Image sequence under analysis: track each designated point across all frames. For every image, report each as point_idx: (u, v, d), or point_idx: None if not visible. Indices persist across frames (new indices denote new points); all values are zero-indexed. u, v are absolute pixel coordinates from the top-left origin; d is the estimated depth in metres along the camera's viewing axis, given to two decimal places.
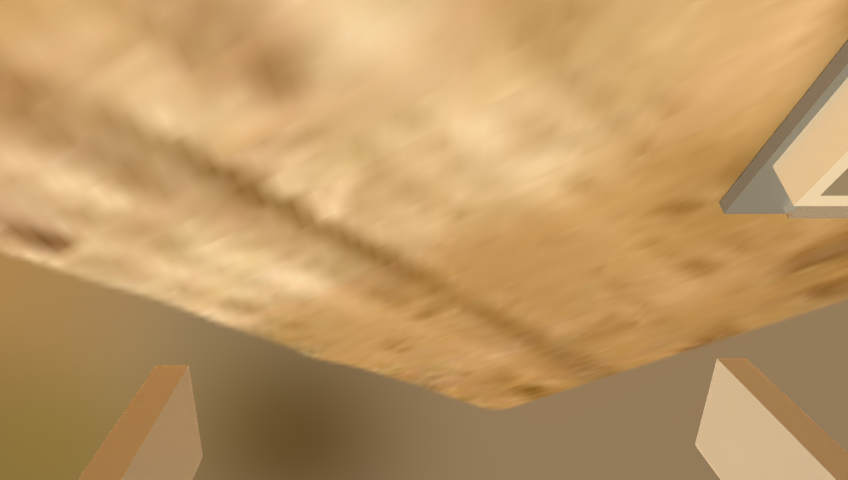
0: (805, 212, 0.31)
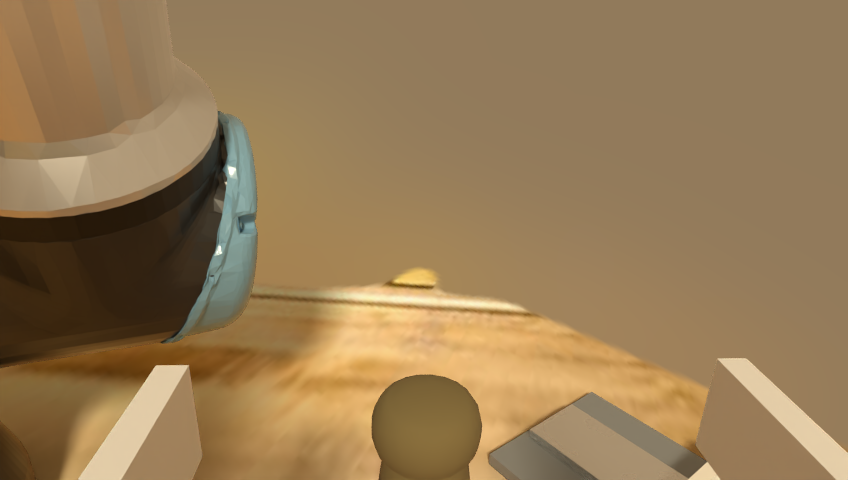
0: None
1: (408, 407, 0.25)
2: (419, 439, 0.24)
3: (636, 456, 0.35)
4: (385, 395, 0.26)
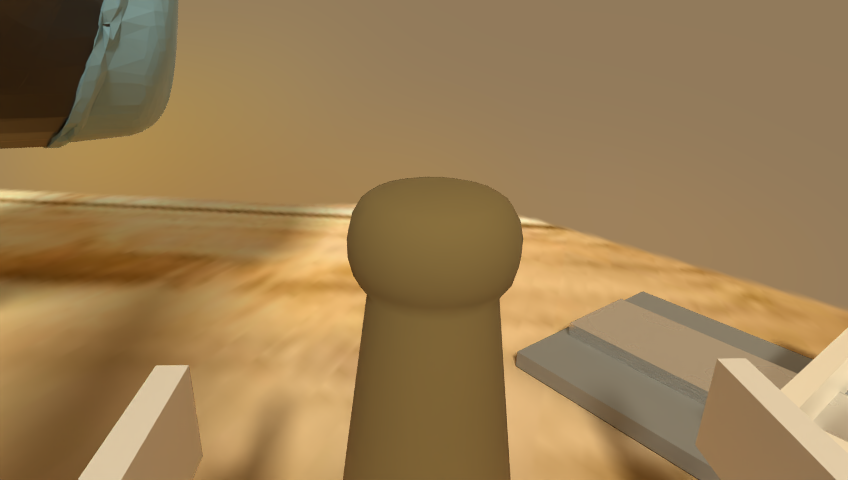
0: None
1: (406, 196, 0.15)
2: (424, 233, 0.14)
3: (719, 350, 0.26)
4: (369, 192, 0.16)
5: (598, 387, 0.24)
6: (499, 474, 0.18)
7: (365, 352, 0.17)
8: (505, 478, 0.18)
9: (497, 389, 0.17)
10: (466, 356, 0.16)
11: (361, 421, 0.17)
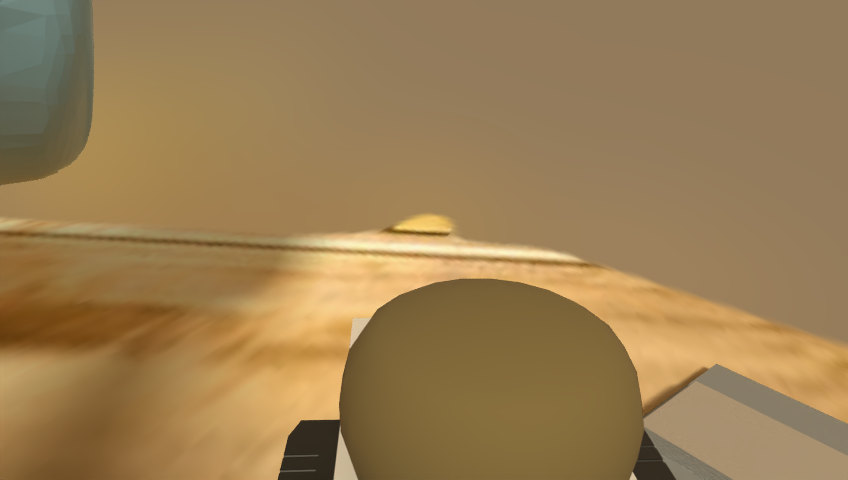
0: None
1: (444, 342, 0.08)
2: (483, 435, 0.07)
3: (847, 471, 0.19)
4: (376, 319, 0.10)
5: None
6: None
7: None
8: None
9: None
10: None
11: None
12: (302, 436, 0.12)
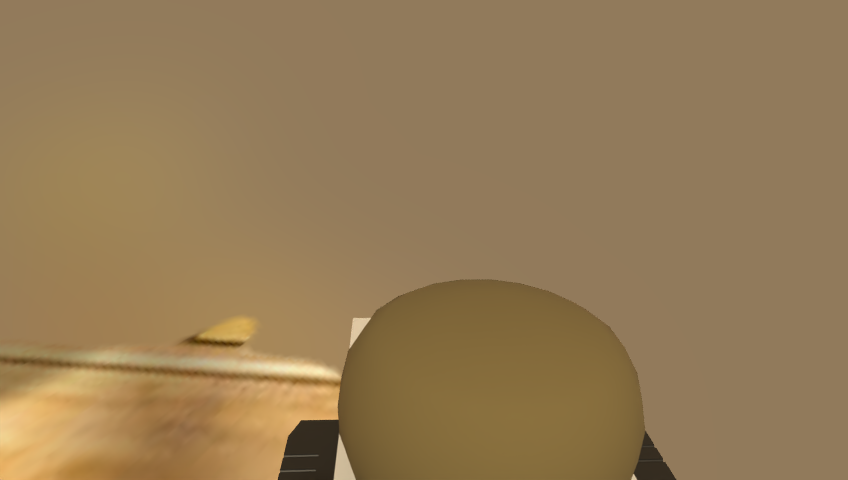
0: None
1: (443, 344, 0.08)
2: (482, 438, 0.07)
3: None
4: (375, 320, 0.10)
5: None
6: None
7: None
8: None
9: None
10: None
11: None
12: (302, 437, 0.12)
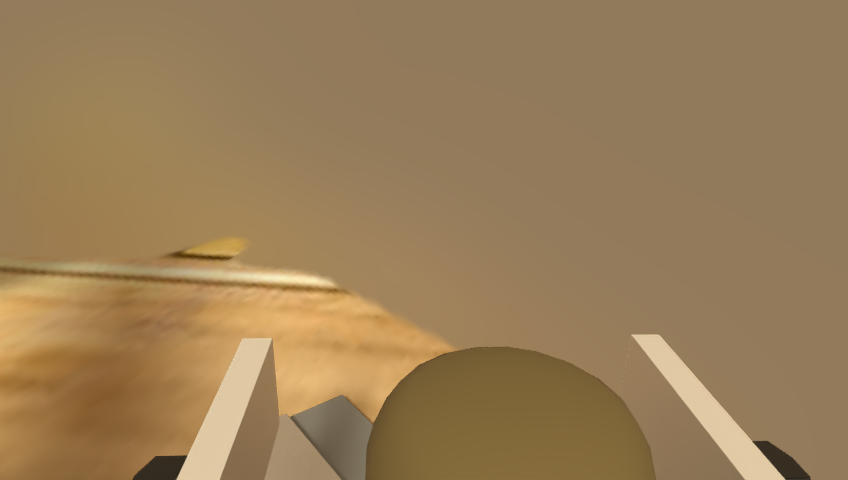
0: None
1: (468, 429, 0.09)
2: None
3: None
4: (400, 395, 0.10)
5: None
6: None
7: None
8: None
9: None
10: None
11: None
12: (149, 476, 0.11)
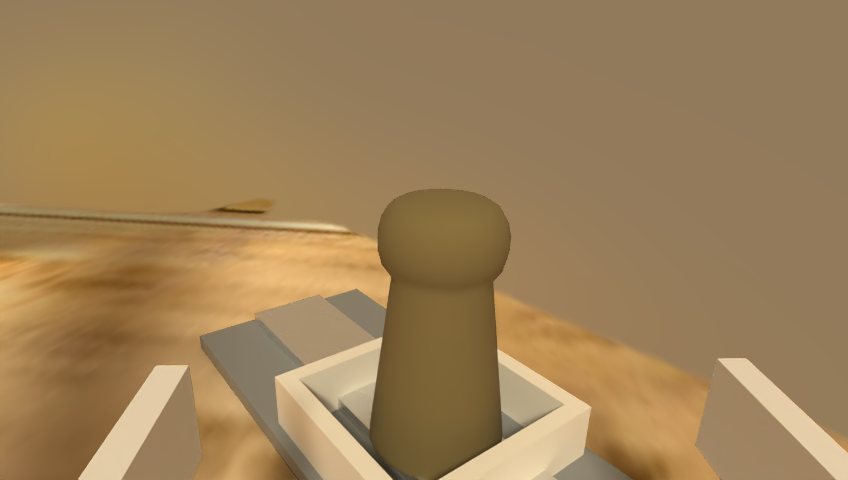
0: None
1: (423, 204, 0.20)
2: (436, 231, 0.19)
3: (352, 335, 0.32)
4: (393, 201, 0.21)
5: (236, 362, 0.31)
6: (493, 419, 0.23)
7: (390, 323, 0.22)
8: (497, 423, 0.23)
9: (492, 352, 0.22)
10: (467, 325, 0.21)
11: (386, 376, 0.22)
12: None
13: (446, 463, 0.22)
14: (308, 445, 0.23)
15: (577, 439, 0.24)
